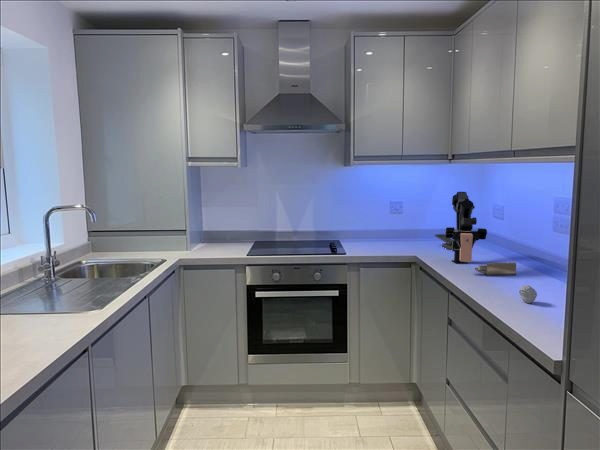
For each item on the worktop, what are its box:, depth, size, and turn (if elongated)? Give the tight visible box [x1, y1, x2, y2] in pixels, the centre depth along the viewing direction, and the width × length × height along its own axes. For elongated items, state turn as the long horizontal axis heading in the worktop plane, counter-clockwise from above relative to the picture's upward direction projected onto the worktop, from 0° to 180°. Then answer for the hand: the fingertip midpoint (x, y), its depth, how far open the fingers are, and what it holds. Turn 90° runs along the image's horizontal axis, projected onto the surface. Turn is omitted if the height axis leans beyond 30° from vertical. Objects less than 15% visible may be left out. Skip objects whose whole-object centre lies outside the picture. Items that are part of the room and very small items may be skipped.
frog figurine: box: [518, 284, 538, 304], centre depth 174 cm, size 6×7×7 cm
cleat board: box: [474, 262, 517, 277], centre depth 223 cm, size 13×14×6 cm
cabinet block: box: [460, 233, 473, 263], centre depth 218 cm, size 6×5×13 cm
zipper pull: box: [434, 233, 455, 251], centre depth 293 cm, size 9×7×25 cm
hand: (466, 247), depth 217 cm, fingers closed on cabinet block, 5 cm apart
